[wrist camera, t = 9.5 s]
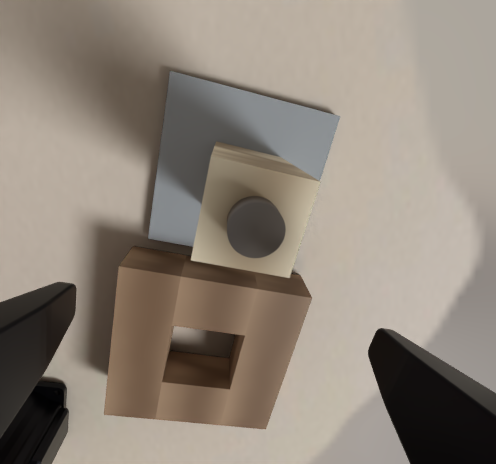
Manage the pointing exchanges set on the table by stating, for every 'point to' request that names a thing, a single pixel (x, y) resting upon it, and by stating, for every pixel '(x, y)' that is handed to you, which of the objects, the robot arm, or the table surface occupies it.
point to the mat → (229, 132)
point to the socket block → (205, 318)
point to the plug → (253, 211)
